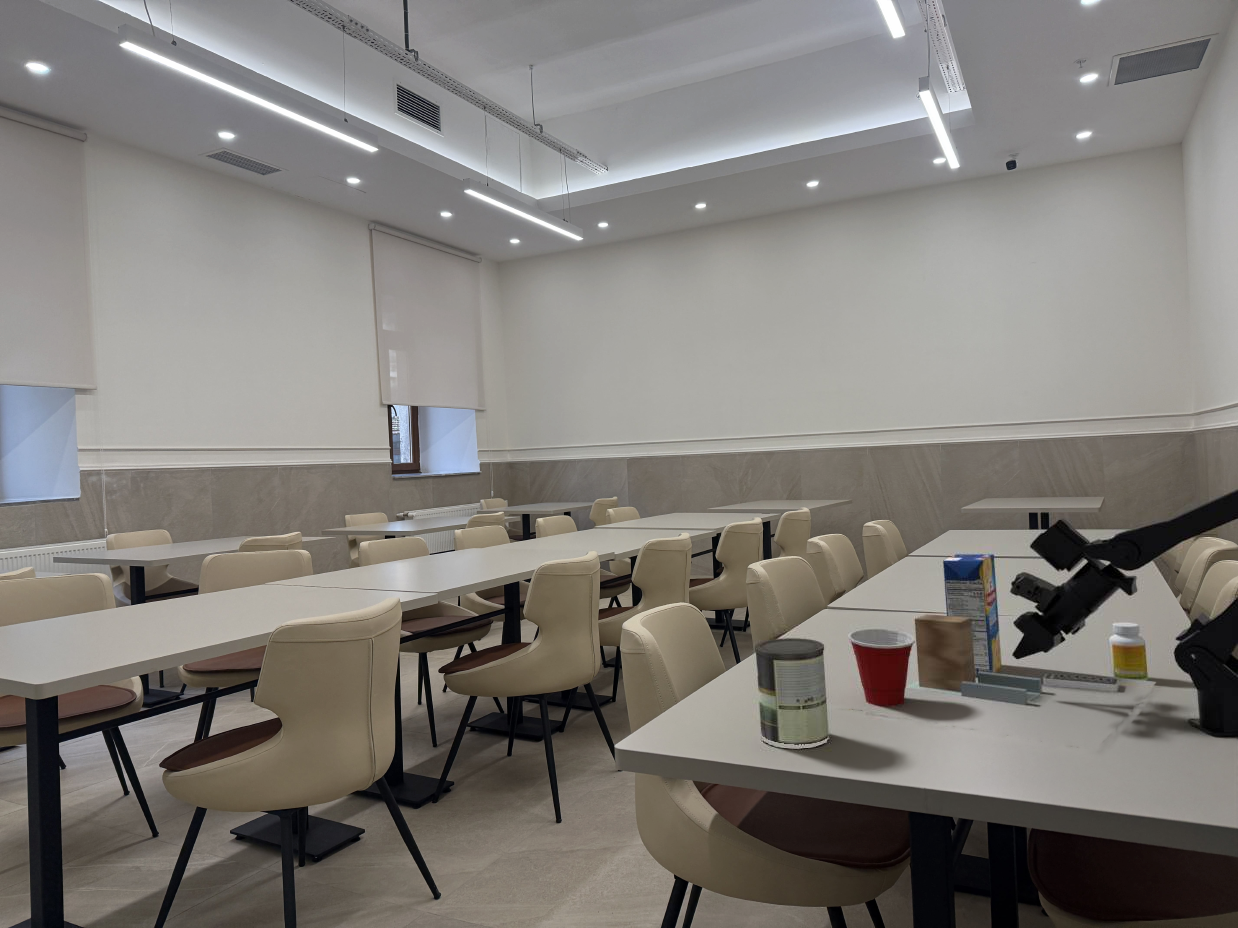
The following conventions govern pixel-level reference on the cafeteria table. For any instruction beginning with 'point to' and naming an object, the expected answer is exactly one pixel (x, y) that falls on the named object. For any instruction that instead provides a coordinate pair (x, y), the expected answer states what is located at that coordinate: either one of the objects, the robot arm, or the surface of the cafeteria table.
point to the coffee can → (792, 690)
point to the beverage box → (975, 604)
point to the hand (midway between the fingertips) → (1015, 656)
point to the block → (944, 651)
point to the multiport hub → (1081, 682)
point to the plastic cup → (882, 663)
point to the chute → (995, 688)
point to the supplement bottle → (1128, 652)
